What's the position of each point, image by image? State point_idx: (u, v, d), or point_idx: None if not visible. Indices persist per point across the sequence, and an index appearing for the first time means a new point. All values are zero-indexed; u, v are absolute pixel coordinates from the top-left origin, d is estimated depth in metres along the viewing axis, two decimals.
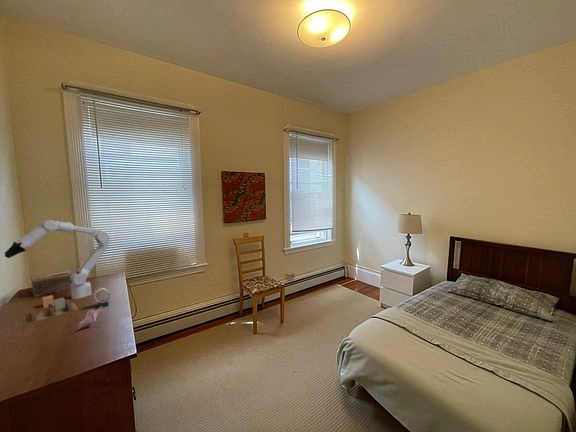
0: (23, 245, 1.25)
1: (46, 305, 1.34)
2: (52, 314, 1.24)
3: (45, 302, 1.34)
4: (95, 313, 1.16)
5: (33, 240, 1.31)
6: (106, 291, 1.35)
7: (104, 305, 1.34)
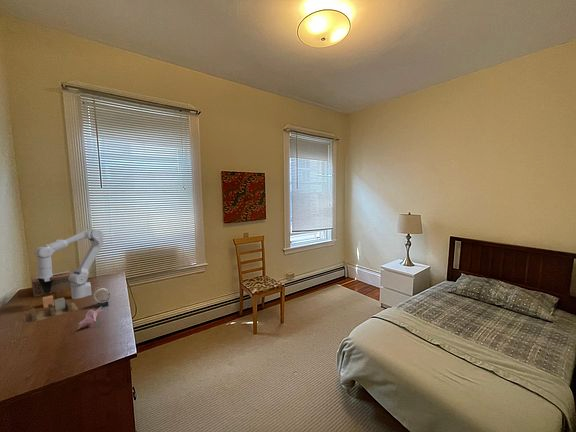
0: (46, 279, 1.30)
1: (46, 305, 1.34)
2: (52, 314, 1.24)
3: (45, 302, 1.34)
4: (95, 313, 1.16)
5: (48, 270, 1.34)
6: (106, 291, 1.35)
7: (104, 305, 1.34)
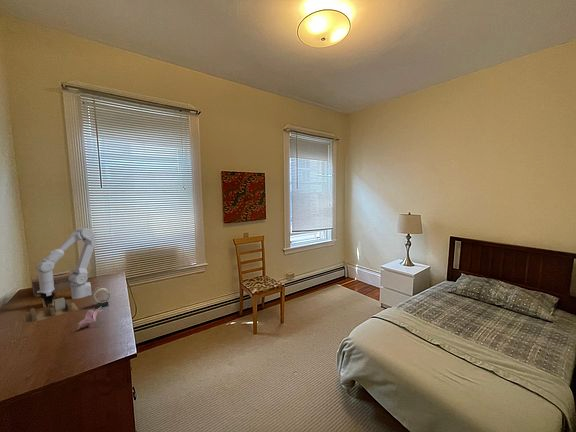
0: (48, 294, 1.31)
1: None
2: (52, 314, 1.24)
3: None
4: (94, 313, 1.15)
5: (50, 284, 1.35)
6: (106, 291, 1.35)
7: (104, 305, 1.34)
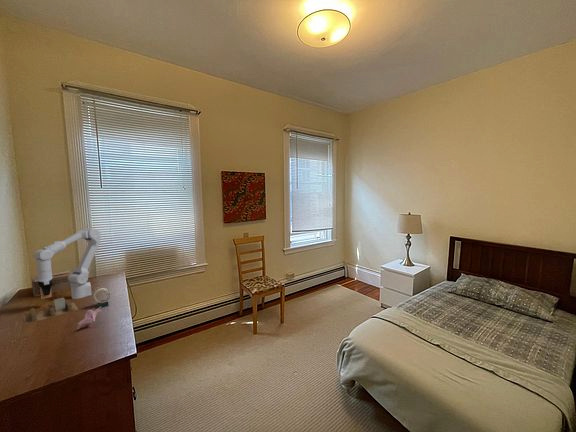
0: (46, 282, 1.29)
1: (43, 294, 1.32)
2: (52, 314, 1.24)
3: (42, 291, 1.32)
4: (94, 313, 1.15)
5: (48, 273, 1.33)
6: (106, 291, 1.35)
7: (104, 305, 1.34)
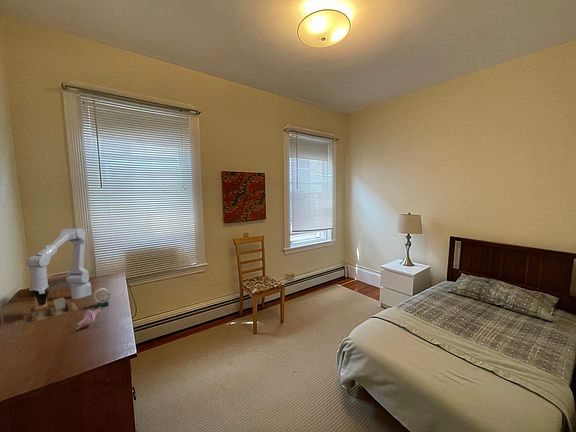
0: (41, 291, 1.20)
1: (38, 304, 1.23)
2: (52, 314, 1.24)
3: (37, 301, 1.23)
4: (94, 313, 1.15)
5: (43, 281, 1.24)
6: (106, 291, 1.35)
7: (104, 305, 1.34)
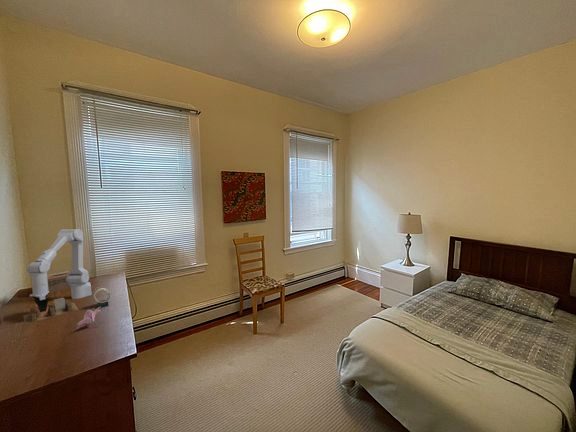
0: (42, 298, 1.20)
1: (39, 312, 1.23)
2: (52, 314, 1.24)
3: (38, 309, 1.23)
4: (93, 313, 1.15)
5: (44, 287, 1.24)
6: (106, 291, 1.35)
7: (104, 305, 1.34)
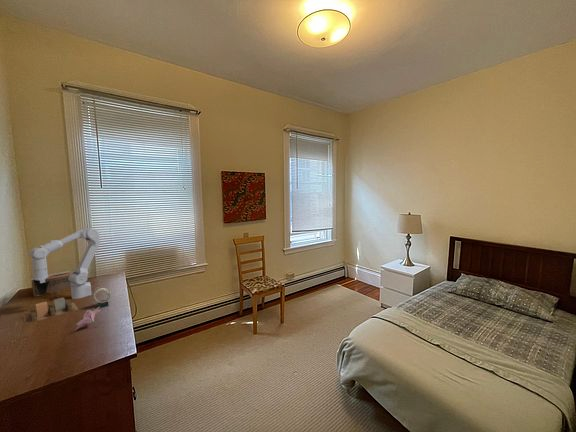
0: (42, 281, 1.29)
1: (39, 312, 1.23)
2: (52, 314, 1.24)
3: (38, 309, 1.23)
4: (93, 313, 1.15)
5: (44, 271, 1.33)
6: (106, 291, 1.35)
7: (104, 305, 1.34)
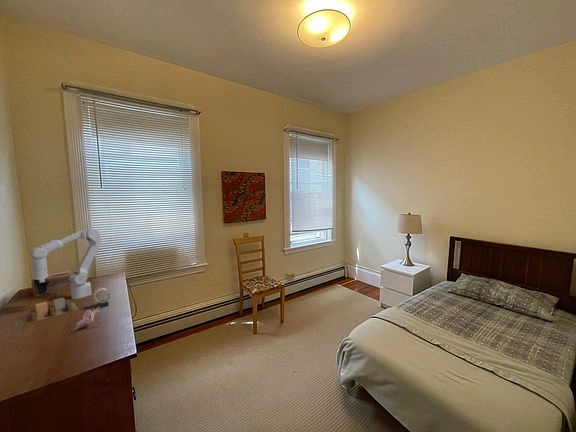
0: (41, 280, 1.30)
1: (39, 312, 1.23)
2: (52, 314, 1.24)
3: (38, 309, 1.23)
4: (92, 313, 1.15)
5: (43, 271, 1.33)
6: (106, 291, 1.35)
7: (104, 305, 1.34)
